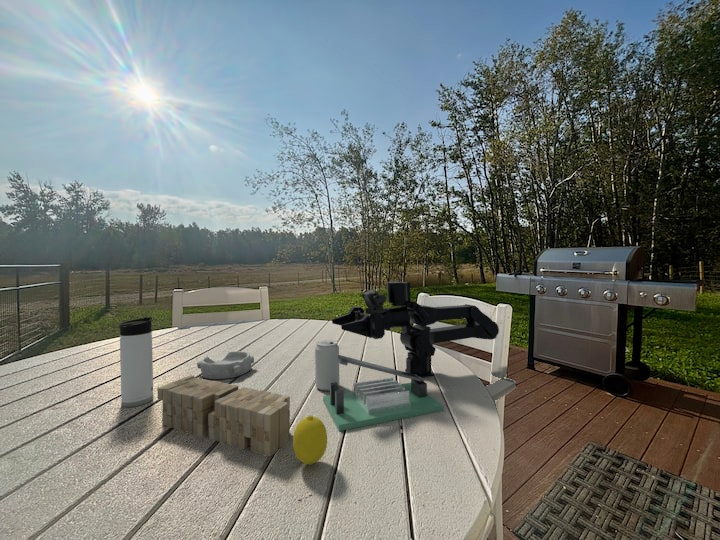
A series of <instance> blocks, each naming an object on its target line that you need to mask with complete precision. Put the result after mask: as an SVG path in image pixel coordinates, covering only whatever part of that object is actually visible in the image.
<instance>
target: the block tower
mask: <svg viewBox="0 0 720 540" xmlns="http://www.w3.org/2000/svg"><path fill="white" fill-rule="evenodd" d="M156 391H157V399H158V400H159V401H162V418H161V420H162V421H161V424H162V425H163V426H166V427H167V428H173V429H174V430H178V431H183V432H186V433H190V434H193V435H196V436H198V437H200V438H202V437H205V436H206V435H208V439H209V440H212V441H217V442H220V443H222V444H227V445H229V446H232V447H235V446H236V447H235V448H238V449H241V448H242V449H241V450H244V448H245V449H246V448H248V447H249V446H250V452H251V451H253V452H252V453H254V452H257V453H256V454H258V453H260V454H259V455H261V454H264V455H266V456H271V455H272V454H273V455H274V454H275V453H277V452H278V451H279V449H282V448H283V447H284V446H285V445H286V444H287V443H288V442H289V441H288V440H289V438H288V437H289V436H288V435H289V434H290V432H291V430H290V428H291V427H290V425H291V423H290V420H291V417H290V416H291V412H290V411H291V410H290V408H291V407H290V406H291V396H290V395H287V394H280V393H276V392H271V391H267V390H266V391H265V390H262V389H260V390H259V389H254V388H251V387H250V388H248V387H247V386H246V387H245V386H244V387H241V388H239V385H237V384H231V383H227V382H223V381H216V380H211V379H209V380H208V379H206V378H204V379H203V378H201V377H200V378H198V377H195V375H192V374H190V375H188V376H184V377H181V378H179V379H176V380H174V381H171V382H170V383H167V384H164V385H161V386H159V387H157V390H156ZM284 444H285V445H284ZM247 446H248V447H247ZM278 448H279V449H278ZM277 450H278V451H277ZM276 451H277V452H276ZM264 455H263V456H264ZM273 455H272V456H273ZM266 456H265V457H266ZM272 456H271V457H272Z"/></svg>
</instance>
